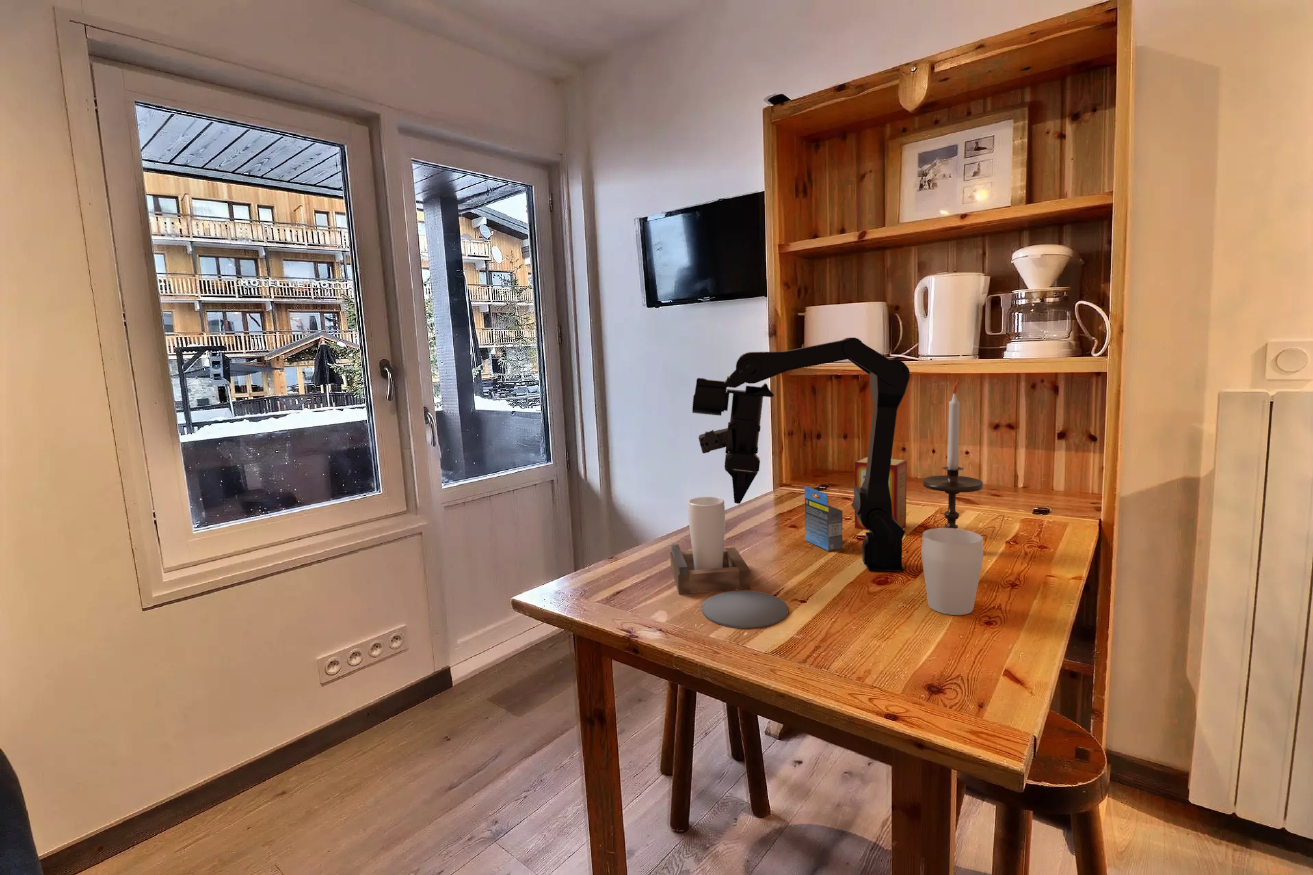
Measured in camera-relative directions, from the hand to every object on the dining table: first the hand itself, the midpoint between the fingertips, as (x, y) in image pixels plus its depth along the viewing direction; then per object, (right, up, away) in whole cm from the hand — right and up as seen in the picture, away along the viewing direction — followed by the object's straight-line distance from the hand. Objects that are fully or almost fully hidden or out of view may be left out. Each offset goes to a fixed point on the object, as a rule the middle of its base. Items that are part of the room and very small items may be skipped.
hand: (736, 497), depth 125 cm
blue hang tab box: (+20, -12, +13) cm, 27 cm away
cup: (+32, -16, -21) cm, 41 cm away
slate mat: (-1, -17, -19) cm, 25 cm away
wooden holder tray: (-6, -15, -4) cm, 16 cm away
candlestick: (+44, -12, +6) cm, 46 cm away
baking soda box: (+36, -9, +23) cm, 44 cm away
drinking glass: (-6, -15, -4) cm, 17 cm away
